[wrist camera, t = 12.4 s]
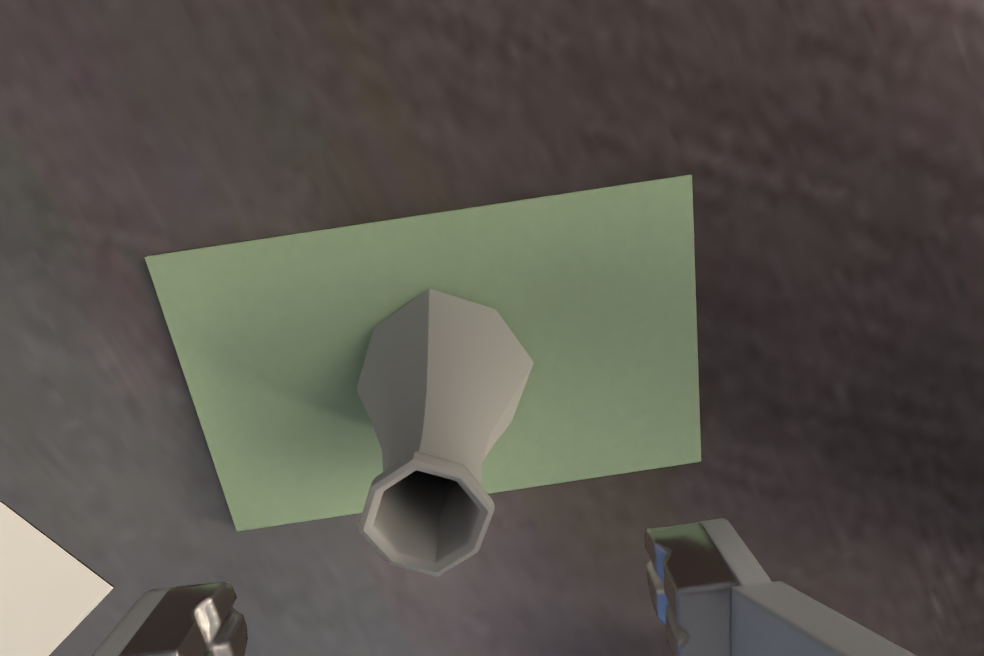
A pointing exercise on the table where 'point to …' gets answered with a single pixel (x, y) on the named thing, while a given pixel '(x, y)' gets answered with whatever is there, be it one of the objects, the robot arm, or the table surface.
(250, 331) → the placemat
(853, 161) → the table surface
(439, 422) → the flask
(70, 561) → the milk
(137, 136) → the table surface
